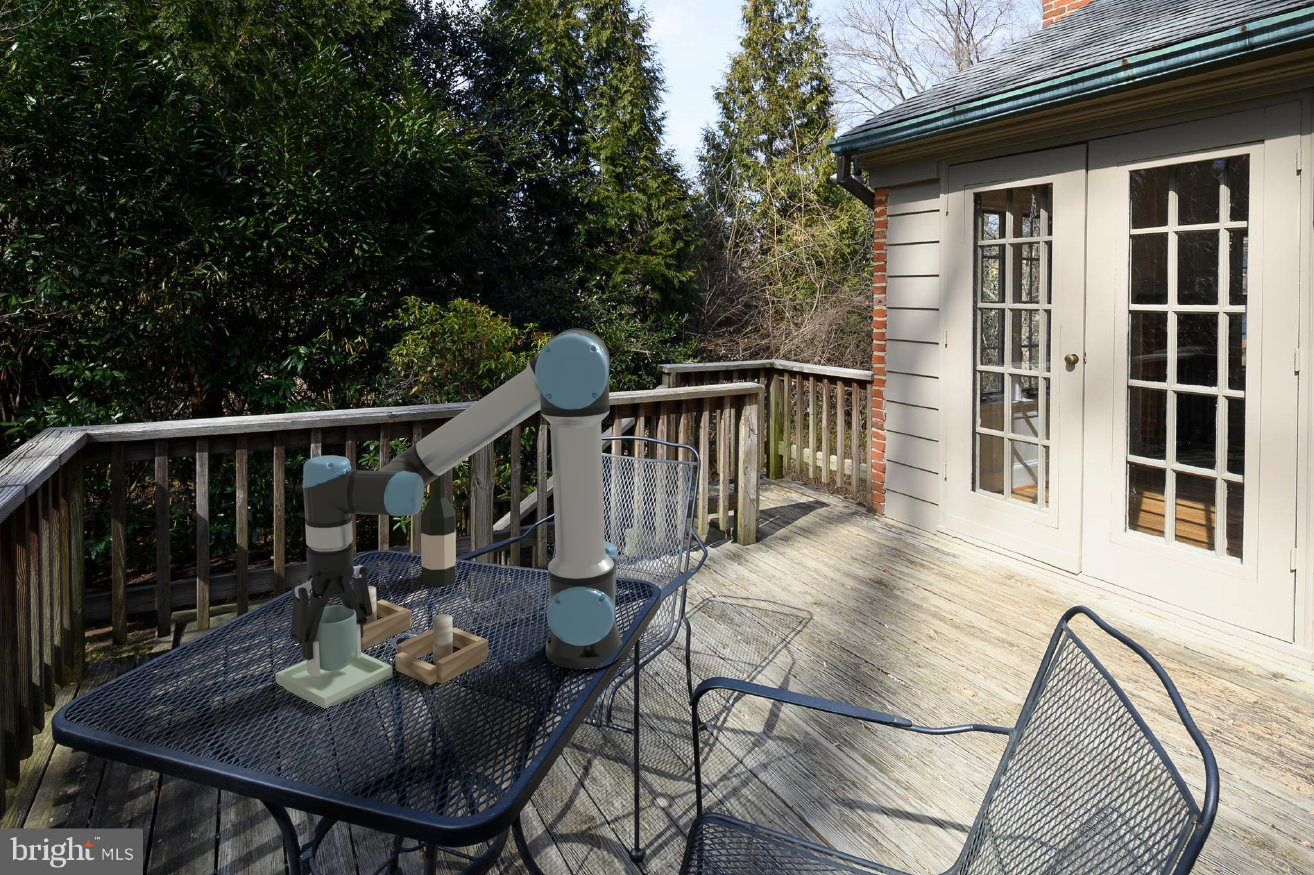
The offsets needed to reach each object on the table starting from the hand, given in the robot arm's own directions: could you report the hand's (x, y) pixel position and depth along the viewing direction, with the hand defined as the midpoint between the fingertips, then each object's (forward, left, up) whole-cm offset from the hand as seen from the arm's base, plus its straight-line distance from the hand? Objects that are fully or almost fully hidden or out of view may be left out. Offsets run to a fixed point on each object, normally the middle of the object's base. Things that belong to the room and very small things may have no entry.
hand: (334, 664), depth 143 cm
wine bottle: (+21, -44, -3) cm, 49 cm away
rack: (+1, -16, -3) cm, 17 cm away
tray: (0, 0, -3) cm, 3 cm away
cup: (0, 0, 0) cm, 1 cm away
